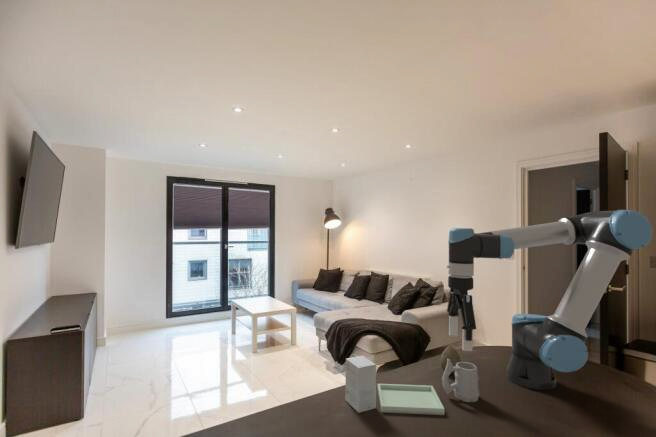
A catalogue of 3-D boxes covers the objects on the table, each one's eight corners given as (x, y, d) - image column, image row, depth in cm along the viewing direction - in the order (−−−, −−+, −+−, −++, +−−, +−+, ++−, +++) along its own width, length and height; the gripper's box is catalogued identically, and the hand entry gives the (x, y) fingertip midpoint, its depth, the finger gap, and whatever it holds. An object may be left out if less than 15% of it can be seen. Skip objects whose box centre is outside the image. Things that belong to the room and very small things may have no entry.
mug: (484, 402, 105) (484, 363, 105) (447, 403, 104) (447, 364, 104) (472, 390, 113) (472, 354, 113) (437, 391, 112) (437, 354, 112)
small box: (376, 408, 101) (377, 364, 101) (358, 413, 98) (358, 368, 98) (362, 395, 108) (362, 354, 108) (344, 400, 106) (345, 358, 106)
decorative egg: (439, 375, 123) (439, 348, 123) (441, 368, 130) (441, 342, 130) (460, 379, 121) (460, 351, 121) (461, 371, 127) (461, 344, 127)
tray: (432, 391, 112) (432, 385, 112) (444, 415, 98) (444, 408, 98) (377, 389, 113) (377, 383, 113) (381, 412, 99) (381, 406, 99)
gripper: (438, 270, 122) (437, 330, 121) (461, 282, 97) (460, 357, 96) (459, 271, 121) (459, 330, 121) (488, 283, 96) (488, 358, 96)
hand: (459, 342), depth 109 cm, fingers open, 13 cm apart
